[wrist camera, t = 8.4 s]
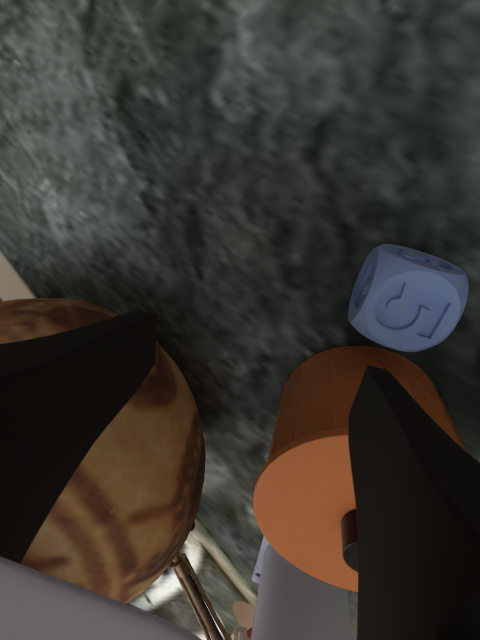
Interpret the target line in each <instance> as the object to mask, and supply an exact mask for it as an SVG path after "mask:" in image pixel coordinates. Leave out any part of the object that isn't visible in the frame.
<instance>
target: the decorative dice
mask: <svg viewBox="0 0 480 640" xmlns="http://www.w3.org/2000/svg"><path fill="white" fill-rule="evenodd" d="M468 290H469V284H468V279H467V276H466V273H465V271H464V270H463V269H461V268H460V267H458V266H456V265H454V264H452V263H450V262H448V261H446V260H443V259H441V258H439V257H436V256H433V255H430V254H428V253H425V252H421V251H418V250H415V249H411V248H408V247H403V246H399V245H393V244H381V245H379V246H377V247H375V248H373V249H372V251H371V252H370V253H369V255H368V256H367V258H366V260H365V261H364V263H363V265H362V267H361V270H360V272H359V274H358V277H357V279H356V282H355V285H354V288H353V291H352V295H351V298H350V303H349V308H348V319H349V321H350V323H351V325H352V326H353V327H354V328H355V329H356V330H357V331H358V332H359V333H361V334H362V335H364V336H365V337H367V338H368V339H370V340H372V341H374V342H376V343H378V344H381V345H383V346H386V347H388V348H391V349H395V350H399V351H405V352H416V351H421V350H425V349H428V348H431V347H433V346H435V345H437V344H439V343H441V342H442V341H444V340H445V339H446V338H447V337H448V336H449V335H450V334H451V332H452V331H453V330H454V328H455V327H456V325H457V323H458V322H459V320H460V318H461V316H462V313H463V311H464V308H465V305H466V302H467V297H468Z"/></svg>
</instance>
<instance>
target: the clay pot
mask: <svg viewBox="0 0 480 640" xmlns="http://www.w3.org/2000/svg"><path fill="white" fill-rule="evenodd" d="M116 316H119V315H118V314H116V313H114V312H111V311H109V310H107V309H105V308H102V307H99V306H96V305H93V304H89V303H86V302H82V301H76V300H70V299H54V298H35V299H18V300H10V301H3V302H0V344H3V343H11V342H18V341H23V340H29V339H34V338H39V337H44V336H48V335H53V334H57V333H61V332H64V331H68V330H72V329H75V328H79V327H83V326H87V325H90V324H93V323H96V322H100V321H103V320H106V319H110V318H113V317H116ZM204 473H205V444H204V437H203V432H202V427H201V421H200V416H199V413H198V410H197V406H196V403H195V399H194V397H193V395H192V393H191V390H190V388H189V386H188V384H187V382H186V380H185V378H184V376H183V375H182V373H181V371H180V370H179V368H178V366H177V365H176V364H175V362H174V361H173V360H172V358H171V357H170V356H169V355H168V354H167V353H166V352H165V350H164V349H163V348H162V347H161V346H160V345H159V344H158V343H157V342H156V348H155V364H154V366H153V367H152V369H151V371H150V372H149V374H148V376H147V377H146V379H145V380H144V382H143V384H142V385H141V386H140V388H139V389H138V390H137V391H136V393H135V394H134V395H133V396H132V397H131V399H130V400H129V401H128V402H127V404H126V405H125V406H124V407H123V408H122V409H121V411H120V412H119V413H118V414H117V415H116V417H115V418H114V419H113V420H112V421H111V423H110V424H109V425H108V426H107V427H106V429H105V430H104V431H103V432H102V433H101V435H100V436H99V437H98V439H97V440H96V441H95V443H94V444H93V445H92V447H91V448H90V450H89V451H88V453H87V454H86V456H85V457H84V459H83V460H82V462H81V463H80V465H79V466H78V468H77V469H76V471H75V472H74V474H73V476H72V477H71V479H70V480H69V482H68V483H67V485H66V487H65V488H64V490H63V491H62V493H61V494H60V496H59V498H58V499H57V501H56V503H55V504H54V506H53V508H52V509H51V511H50V513H49V514H48V516H47V518H46V519H45V521H44V523H43V524H42V526H41V528H40V530H39V531H38V533H37V535H36V536H35V538H34V540H33V542H32V544H31V545H30V547H29V549H28V551H27V553H26V554H25V556H24V558H23V560H22V562H21V563H20V564H22V565H24V566H27V567H30V568H32V569H35V570H37V571H40V572H43V573H45V574H48V575H51V576H53V577H56V578H59V579H61V580H64V581H67V582H69V583H72V584H74V585H77V586H80V587H82V588H85V589H88V590H90V591H93V592H96V593H98V594H101V595H104V596H106V597H109V598H111V599H114V600H117V601H119V602H122V603H125V604H127V603H128V602H130V601H131V600H132V599H134V598H135V597H137V596H138V595H140V594H141V593H142V592H143V591H144V590H146V589H147V588H148V587H149V586H150V585H151V584H152V583H154V582H155V581H156V580H157V579H158V578H159V577H160V575H161V574H162V573H163V572H164V571H165V569H166V568H167V567H168V566H169V565H170V563H171V562H172V561H173V559H174V558H175V557H176V555H177V554H178V552H179V550H180V549H181V547H182V545H183V544H184V542H185V540H186V539H187V537H188V534H189V532H190V530H191V527H192V525H193V523H194V521H195V518H196V514H197V511H198V507H199V503H200V498H201V493H202V488H203V482H204Z"/></svg>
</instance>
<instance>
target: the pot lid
mask: <svg viewBox="0 0 480 640" xmlns="http://www.w3.org/2000/svg"><path fill="white" fill-rule="evenodd" d="M253 508H254V513H255V517H256V521H257V523H258V525H259V528H260V530H261V532H262V533H263V535H264V536H265V538H266V539H267V541H268V542H269V543H270V544H271V546H272V547H273V548H274V549H275V550H276V551H277V552H278V553H279V554H280V555H281V556H282V557H284V558H285V559H286V560H287V561H289V562H290V563H291V564H293V565H294V566H296V567H297V568H299V569H300V570H302V571H304V572H305V573H307V574H309V575H311V576H313V577H315V578H317V579H319V580H321V581H324V582H326V583H329V584H331V585H334V586H337V587H340V588H343V589H347V590H350V591H355V592H358V528H357V513H356V503H355V495H354V487H353V479H352V471H351V462H350V454H349V444H348V427H342V428H333V429H328V430H323V431H318V432H315V433H312V434H309V435H306V436H303V437H301V438H298V439H296V440H294V441H292V442H290V443H289V444H287V445H285V446H284V447H282V448H281V449H279V450H278V451H277V452H276V453H275V454H274V455H272V456H271V457H270V459H269V460H268V461H267V462H266V463H265V465H264V466H263V468H262V470H261V471H260V473H259V475H258V478H257V481H256V484H255V489H254V496H253Z"/></svg>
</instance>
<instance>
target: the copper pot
mask: <svg viewBox="0 0 480 640" xmlns="http://www.w3.org/2000/svg"><path fill="white" fill-rule="evenodd" d="M367 365H370V366H374V367H378V368H382V369H387V370H388V371H389V372H390V373H391V374H392V375H393V376H394V377H395V378H396V379H397V380H398V381H399V383H400V384H401V385H402V386H403V387H404V388H405V389H406V391H407V392H408V393H409V394H410V395H411V396H412V397H413V398H414V400H415V401H416V402H417V403H418V404H419V405H420V406H421V407H422V408H423V409H424V411H425V412H426V413H427V414H428V415H429V416H430V417H431V418H432V419H433V420H434V421H435V422H436V423H437V424H438V425H439V426H440V427H441V428H442V429H443V430H444V431H445V432H446V433H447V434H448V435H449V436H450V437H451V438H452V439H453V440H454V441H455V442H456V443H457V444H458V445H459V446H461V447H462V448H463V449H464V450H465V451H466V452H467V453H468V451H467V449H466V447H465V445H464V442H463V440H462V438H461V436H460V434H459V432H458V430H457V428H456V426H455V424H454V422H453V420H452V418H451V416H450V414H449V412H448V410H447V408H446V406H445V404H444V401H443V399H442V398H441V396H440V394H439V393H438V391H437V389H436V388H435V386H434V384H433V382H432V381H431V379H430V378H429V376H428V375H427V374H426V373H425V372H424V371H423V370H422V369H421V368H420V367H419V366H417V365H416V364H415V363H413V362H412V361H410V360H409V359H407V358H405V357H403V356H401V355H399V354H397V353H394V352H392V351H389V350H385V349H382V348H377V347H372V346H360V345H355V346H342V347H336V348H332V349H329V350H325V351H323V352H320V353H318V354H315V355H314V356H312V357H310V358H308V359H307V360H305V361H304V362H303V363H301V364H300V365H299V366H298V367H297V368H296V369H295V370H294V371H293V372H292V373H291V375H290V376H289V377H288V379H287V381H286V383H285V385H284V387H283V390H282V394H281V399H280V403H279V407H278V412H277V417H276V422H275V427H274V432H273V437H272V442H271V448H270V453H269V458H268V460H269V459H270V457H271V456H272V455H274V454H275V453H276V452H277V451H278V450H279V449H281V448H282V447H284V446H285V445H287V444H289V443H290V442H292V441H294V440H296V439H298V438H301V437H303V436H306V435H309V434H312V433H315V432H318V431H323V430H328V429H333V428H342V427H348V424H349V412H350V409H351V407H352V404H353V401H354V399H355V396H356V394H357V391H358V388H359V386H360V383H361V380H362V378H363V375H364V373H365V370H366V367H367ZM468 454H469V453H468Z"/></svg>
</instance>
